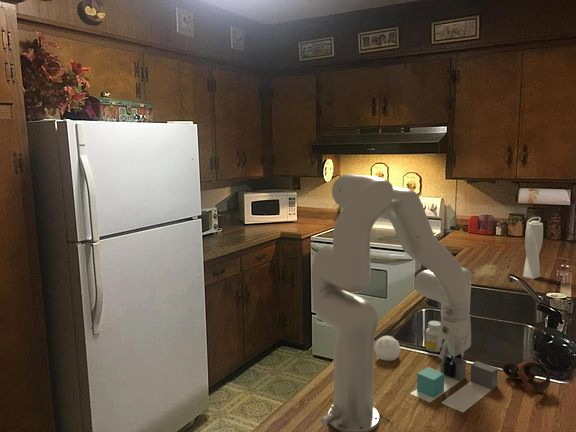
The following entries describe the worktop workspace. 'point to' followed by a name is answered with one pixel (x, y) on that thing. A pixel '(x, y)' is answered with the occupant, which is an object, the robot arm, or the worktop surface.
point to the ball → (387, 348)
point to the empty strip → (474, 387)
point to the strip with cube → (447, 379)
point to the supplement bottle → (432, 336)
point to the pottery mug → (527, 374)
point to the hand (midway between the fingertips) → (452, 372)
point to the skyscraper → (533, 248)
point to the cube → (430, 382)
